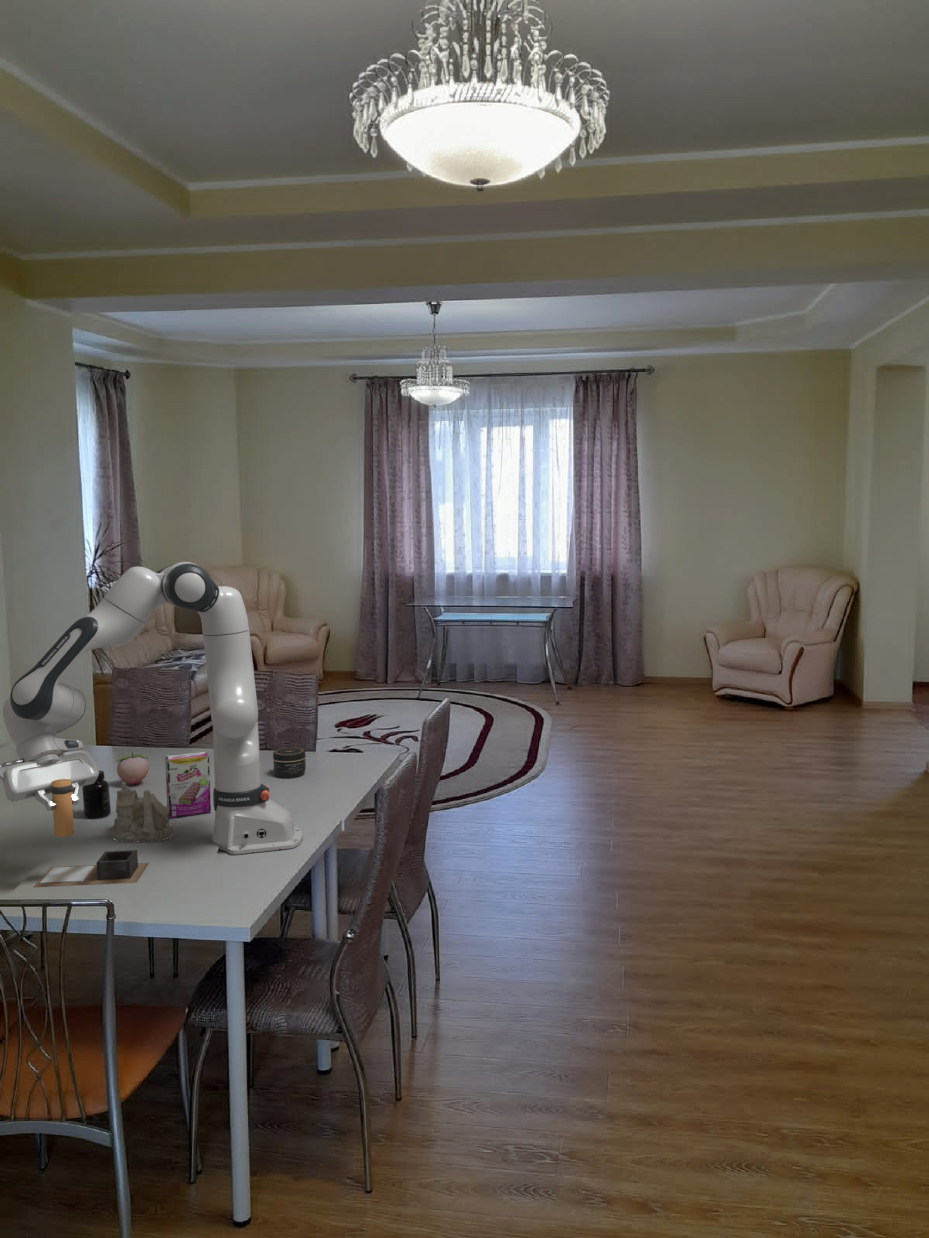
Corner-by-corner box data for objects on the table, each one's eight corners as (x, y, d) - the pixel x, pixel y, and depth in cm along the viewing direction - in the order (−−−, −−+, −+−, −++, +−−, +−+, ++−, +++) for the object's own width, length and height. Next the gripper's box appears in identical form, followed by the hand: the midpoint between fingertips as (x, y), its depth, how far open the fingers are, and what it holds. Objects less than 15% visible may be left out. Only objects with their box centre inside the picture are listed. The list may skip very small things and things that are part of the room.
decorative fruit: (124, 790, 289) (123, 758, 288) (114, 785, 295) (112, 753, 294) (155, 784, 295) (153, 752, 294) (144, 779, 301) (142, 747, 300)
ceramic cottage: (161, 843, 243) (158, 783, 242) (100, 843, 245) (96, 784, 245) (188, 826, 258) (184, 770, 258) (129, 827, 261) (126, 771, 260)
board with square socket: (149, 868, 226) (148, 845, 225) (137, 888, 214) (135, 864, 213) (51, 873, 224) (49, 850, 223) (33, 893, 212) (31, 869, 211)
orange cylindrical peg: (76, 830, 219) (73, 778, 218) (70, 836, 215) (68, 783, 214) (57, 831, 219) (54, 779, 218) (51, 837, 215) (48, 784, 214)
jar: (311, 775, 303) (310, 751, 302) (281, 781, 297) (280, 756, 297) (297, 768, 311) (297, 745, 310) (268, 774, 306) (267, 750, 305)
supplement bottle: (104, 809, 271) (101, 767, 270) (115, 815, 266) (112, 772, 265) (79, 815, 266) (77, 772, 265) (90, 821, 262) (87, 777, 260)
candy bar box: (169, 819, 262) (166, 759, 260) (167, 814, 266) (164, 755, 265) (212, 813, 267) (209, 754, 265) (208, 808, 271) (206, 750, 269)
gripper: (-2, 756, 212) (20, 809, 207) (88, 739, 227) (111, 788, 222) (-9, 772, 216) (12, 825, 210) (80, 755, 231) (102, 803, 225)
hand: (64, 806), depth 216 cm, fingers closed on orange cylindrical peg, 4 cm apart
